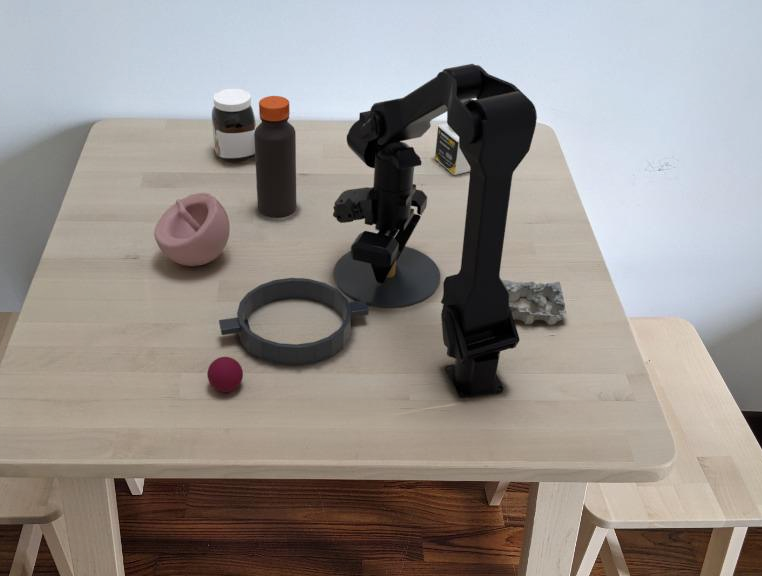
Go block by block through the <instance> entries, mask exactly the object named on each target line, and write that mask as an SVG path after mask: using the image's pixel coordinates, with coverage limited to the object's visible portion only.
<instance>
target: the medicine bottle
mask: <svg viewBox="0 0 762 576" xmlns="http://www.w3.org/2000/svg"><path fill="white" fill-rule="evenodd" d="M472 100H473V99H469V100H467V101H466V102H464V103H463V104H464V105H466V104H467V103H468V102H469V101H472ZM434 152H435V153H434V160H436V161H437V162H438V163H439V164H440V165H441V166H442V167H444V168H445V169H446V170H448V171H449V173H451V174H452V175H453V176H457V175H461V174H464V173H468V172H469V173H470V166H469V164H468V162H467V160H466V158H465V157H464V155H463V153H462V151H461V150H460V148H459V136H458V135H457V134H456V133H455V132H454V131H453V130H452V129H451V127H450V126H449V125H448V124H447V122H445V123H439V124H438V125H437V133H436V145H435V151H434Z"/></svg>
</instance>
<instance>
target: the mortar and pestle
mask: <svg viewBox="0 0 762 576" xmlns="http://www.w3.org/2000/svg"><path fill="white" fill-rule="evenodd" d="M230 225H231V224H230V219H229V216H228V213H227V211H226V209H225V207H224V206H223V205H222V203H221V201H219V200H218V199H217V198H216V197H215V196H213V195H212V194H210V193H207V192H197V193H193V194H190V195H188V196H185V197H183V198H181V199H180V198H178V199H175V203H174V204H173V205H170V207H169V208H167V209H166V210H165V211H164V213H163V214H162V215H161V217H160V218H159V219H158V221H157V223H156V225H155V228H154V233H153V234H154V235H153V236H154V239H155V242H156V244H157V247H158V248H159V250H160V251H161V252H162V254H164V256H166V257H167V258H168V259H170V260H171V261H172V262H174V263H176V264H179V265H181V266H185V267H186V266H187V267H199V266H202V265H206V264H208V263H211V262H212V261H214V260H215V259H217V258H218V257H219V256H220V255H221V254H222V252H223V251H224V249H225V248H226V246H227V244H228V241H229V237H230V232H231V231H230V230H231V229H230V228H231V226H230Z"/></svg>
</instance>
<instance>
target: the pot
mask: <svg viewBox="0 0 762 576" xmlns="http://www.w3.org/2000/svg"><path fill="white" fill-rule="evenodd" d="M289 299H290V300H291V299H297V300H298V299H299V300H309V301H314V302H317V303H321V304H323V305H325V306H327V307H329V308H330V309H332V310H334V311H335V312H336V313H337V314H338V315H339V316H340V317H341V318H342V321H343V322H342V323H341V326H340V327H339V328H338V329H336V330H335V331H334V332H332V333H331V334H330V335H328V336H326V337H324V338H321V339H318V340H315V341H310V342H304V343H283V342H282V343H281V342H276V341H274V340H270V339H267V338H264V337H262V336H260V335H258V334H257V333H255V332H254V331H252V329H251V327H250V323H249V317H250V316H251V314H253V312H255V311H257V310H258V309H259V308H262V307H263V306H265V305H268V304H270V303H274V302H276V301H282V300H289ZM369 314H370V309H369V307H368V305H366V302H365V301H350V302H349V300H348V298H347V296H346V295H345V294H344V293H343V292H342V291H341V290H340V289H339V288H336V287H334V286H331V285H330V284H328V283H326V282H323V281H319V280H314V279H312V278H311V279H310V278H304V277H287V278H286V277H285V278H279V279H274V280H271V281H268V282H264V283H262V284H259V285H258V286H256V287H254V288H252V289H251V290H250V291H248V292H247V293H246V294H245V295H244V297H243V298H242V299H241V300H240V301H239V305H238V308H237V311H236V317H231V318H224V319H223V318H222V319H219V320H218V324H219V325H218V326H219V329H220V333H221V334H220V335H221V336H225V335H234V334H238V336H239V340H240V344H241V346H243V347H244V349H245V350H246V352H248V353H249V354H250V355H252V356H253V357H254V358H256V359H260V360H262V361H265V362H269V363H272V364H276V365H280V366H294V367H296V366H297V367H298V366H306V365H312V364H313V365H314V364H317V363H320V362H322V361H326V360H328V359H330V358H332V357H334V356H335V355H336V354H338V353H339V352H340V351H342V350H343V349H344V348H345V346H346V344H347V343H348V342H349V340H350V339H351V330H352V329H351V328H352V318H356V317H363V316H369Z"/></svg>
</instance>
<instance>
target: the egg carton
mask: <svg viewBox="0 0 762 576" xmlns="http://www.w3.org/2000/svg"><path fill="white" fill-rule="evenodd" d="M501 280H502V282H503V283H504V285H505V287H506V289H507V290H508V292H509V302H517V301H518V300H519V299H520V298H526V299H527V300H528V301H530V303H529V308H528V307H526V306H524V307H519V306H518V305H516V306H515V305H513V304H510V303H509V306H510V309H511V312H512V316H513V319H514V320H519V321H521V322H523V323H524V324H525V325H532V324H533V323H534V322H535V321H543V322H545V323H546V324H547V325H553V326H554V325H556V323H557V322H559V321H562V320H563V316H564V315H567V310H566V302H565V300H564V294H563V293H564V292H563V291H562V285H561V282H560V281H556V282H548V283H545V284H544V283H542V282H538V283H536V281H527V282H526V281H517V282H516V281H511V280H507V279H501ZM547 299H549V301H551V302H552V307H551V312H549V311H548V310H546V308H547V304H548V300H547Z"/></svg>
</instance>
